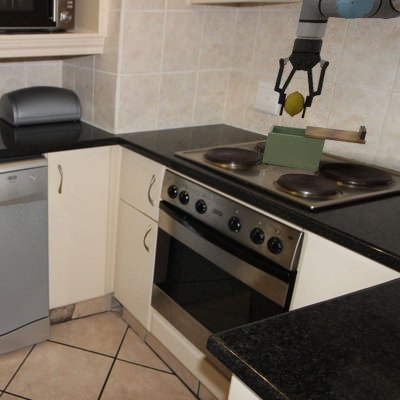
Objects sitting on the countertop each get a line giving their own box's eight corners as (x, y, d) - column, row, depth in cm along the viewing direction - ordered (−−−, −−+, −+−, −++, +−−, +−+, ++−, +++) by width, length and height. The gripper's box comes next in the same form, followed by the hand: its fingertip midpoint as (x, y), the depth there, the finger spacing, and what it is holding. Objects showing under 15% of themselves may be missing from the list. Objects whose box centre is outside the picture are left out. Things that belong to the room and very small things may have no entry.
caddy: (318, 160, 156) (325, 131, 152) (317, 171, 145) (325, 140, 142) (266, 152, 162) (272, 124, 159) (262, 162, 152) (268, 132, 149)
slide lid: (362, 134, 147) (365, 124, 146) (365, 144, 137) (368, 133, 136) (305, 128, 154) (308, 118, 153) (304, 136, 144) (306, 126, 143)
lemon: (301, 119, 146) (306, 92, 143) (281, 117, 149) (285, 91, 146) (302, 116, 150) (307, 90, 147) (283, 114, 153) (287, 89, 150)
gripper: (345, 39, 139) (325, 117, 148) (275, 35, 148) (261, 110, 157) (345, 40, 133) (325, 122, 142) (273, 37, 141) (258, 114, 150)
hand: (291, 115), depth 149 cm, fingers closed on lemon, 5 cm apart
